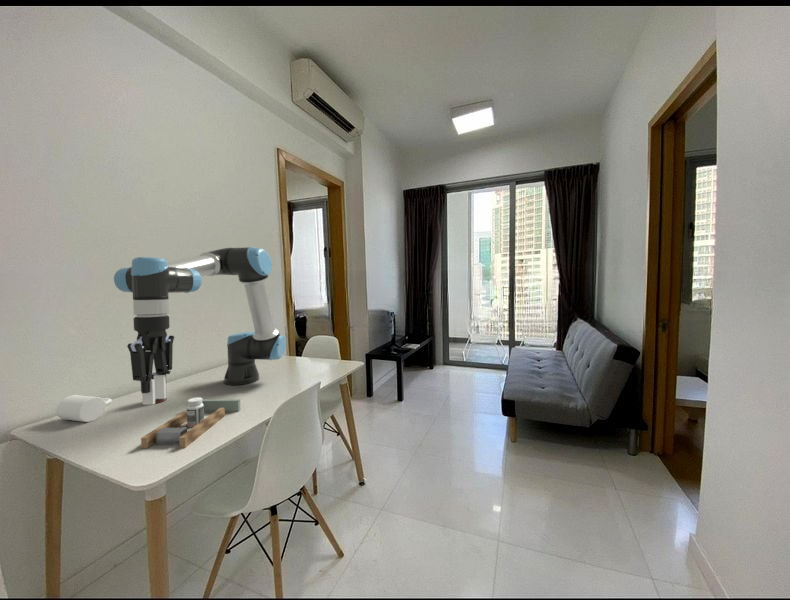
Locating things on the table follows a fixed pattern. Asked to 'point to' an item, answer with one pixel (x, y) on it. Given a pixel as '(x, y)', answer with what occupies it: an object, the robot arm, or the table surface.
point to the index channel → (188, 436)
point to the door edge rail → (221, 405)
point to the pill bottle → (195, 411)
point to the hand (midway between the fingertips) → (154, 400)
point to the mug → (82, 408)
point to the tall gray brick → (169, 435)
